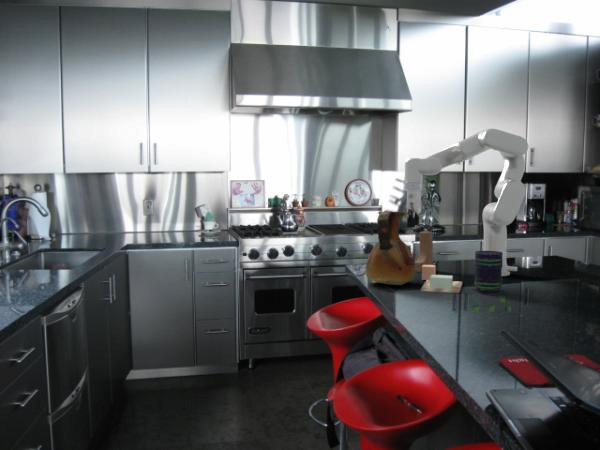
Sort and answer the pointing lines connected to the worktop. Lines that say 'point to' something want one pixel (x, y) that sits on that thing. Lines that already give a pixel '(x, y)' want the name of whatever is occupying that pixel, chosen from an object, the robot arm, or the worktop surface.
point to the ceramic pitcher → (390, 253)
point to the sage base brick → (441, 281)
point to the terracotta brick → (427, 271)
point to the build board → (455, 288)
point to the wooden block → (425, 251)
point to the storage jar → (488, 272)
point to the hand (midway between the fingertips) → (413, 226)
